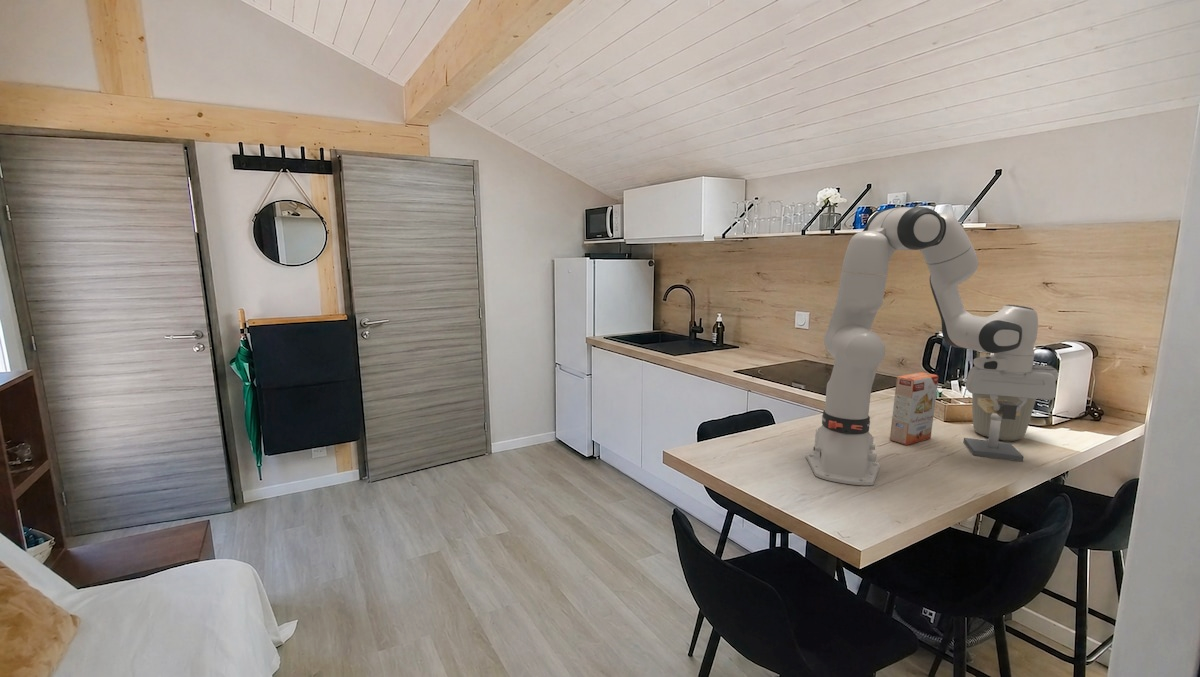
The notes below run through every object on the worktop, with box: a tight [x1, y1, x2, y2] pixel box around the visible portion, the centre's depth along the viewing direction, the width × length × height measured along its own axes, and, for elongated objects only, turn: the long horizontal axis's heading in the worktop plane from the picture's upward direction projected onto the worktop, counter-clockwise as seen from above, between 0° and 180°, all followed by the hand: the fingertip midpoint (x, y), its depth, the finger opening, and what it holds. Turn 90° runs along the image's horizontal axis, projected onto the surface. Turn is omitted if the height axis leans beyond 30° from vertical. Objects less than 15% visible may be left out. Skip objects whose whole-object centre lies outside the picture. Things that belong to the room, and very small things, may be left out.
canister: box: [971, 393, 1037, 442], centre depth 174 cm, size 18×18×21 cm
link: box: [977, 398, 1021, 420], centre depth 157 cm, size 15×8×4 cm, turn 158°
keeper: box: [963, 413, 1024, 462], centre depth 160 cm, size 12×12×12 cm
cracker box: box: [889, 371, 940, 446], centre depth 169 cm, size 14×6×21 cm, turn 121°
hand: (1006, 411), depth 152 cm, fingers closed on link, 3 cm apart
